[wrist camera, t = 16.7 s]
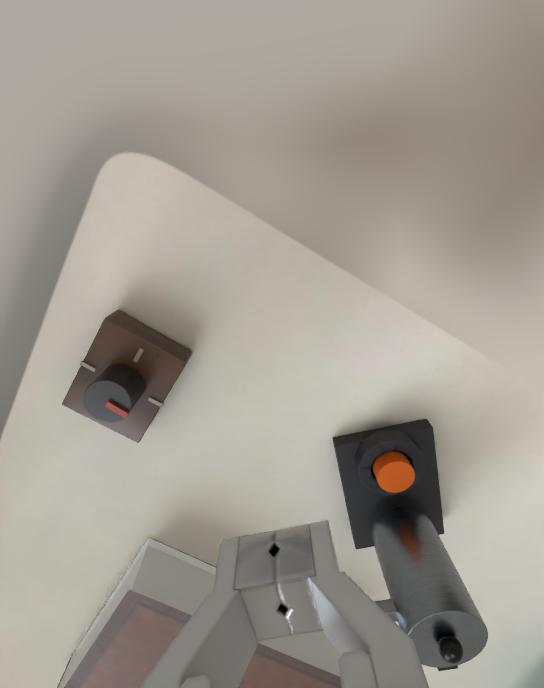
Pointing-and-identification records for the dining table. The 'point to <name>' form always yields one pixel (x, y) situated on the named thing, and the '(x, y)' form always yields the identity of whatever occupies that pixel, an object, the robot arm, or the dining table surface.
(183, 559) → the book
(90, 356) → the dial panel
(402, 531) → the kettle
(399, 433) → the button base
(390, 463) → the orange button
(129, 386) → the dial knob
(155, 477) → the dining table surface
